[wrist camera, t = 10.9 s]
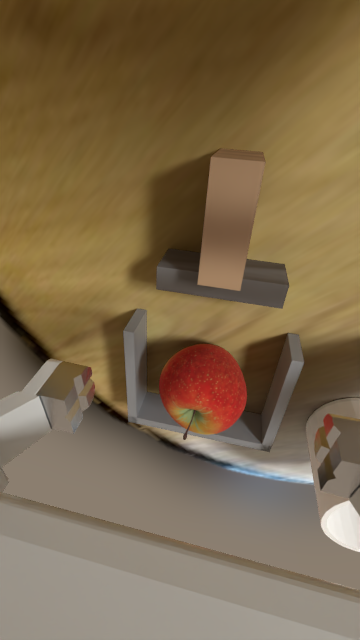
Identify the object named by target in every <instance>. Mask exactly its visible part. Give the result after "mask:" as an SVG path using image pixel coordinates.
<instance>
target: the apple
mask: <svg viewBox="0 0 360 640" xmlns="http://www.w3.org/2000/svg"><path fill="white" fill-rule="evenodd" d="M159 391H160V397H161V400H162V403H163V405H164V407H165V409H166V410H167V412H168V413H169V415H170V416H171V417H172V418H173V419H174V420H175V421H176V422H177V423H178V424H179V425H180V426H182V427H183V428H185V429H187V430H186V432H185V434H184V436H183V439H184V440H185V439H186V438H187V433H188V430H189V431H191V432H194V433H198V434H205V435H211V434H217V433H220V432H222V431H225V430H226V429H228V428H229V427H231V426H232V425H233V424H234V423H235V422H236V421H237V420H238V419H239V417H240V416H241V414H242V413H243V411H244V408H245V405H246V401H247V390H246V384H245V380H244V377H243V374H242V371H241V369H240V367H239V365H238V363H237V362H236V360H235V359H234V358H233V356H232V355H231V354H230V353H229V352H227V351H226V350H225V349H223V348H221V347H219V346H216V345H212V344H198V345H193V346H190V347H187V348H184V349H182V350H180V351H179V352H177V353H176V354H174V355H173V356H172V357H171V358H170V359H169V360H168V361H167V363H166V364H165V366H164V368H163V370H162V372H161V376H160V380H159Z"/></svg>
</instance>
